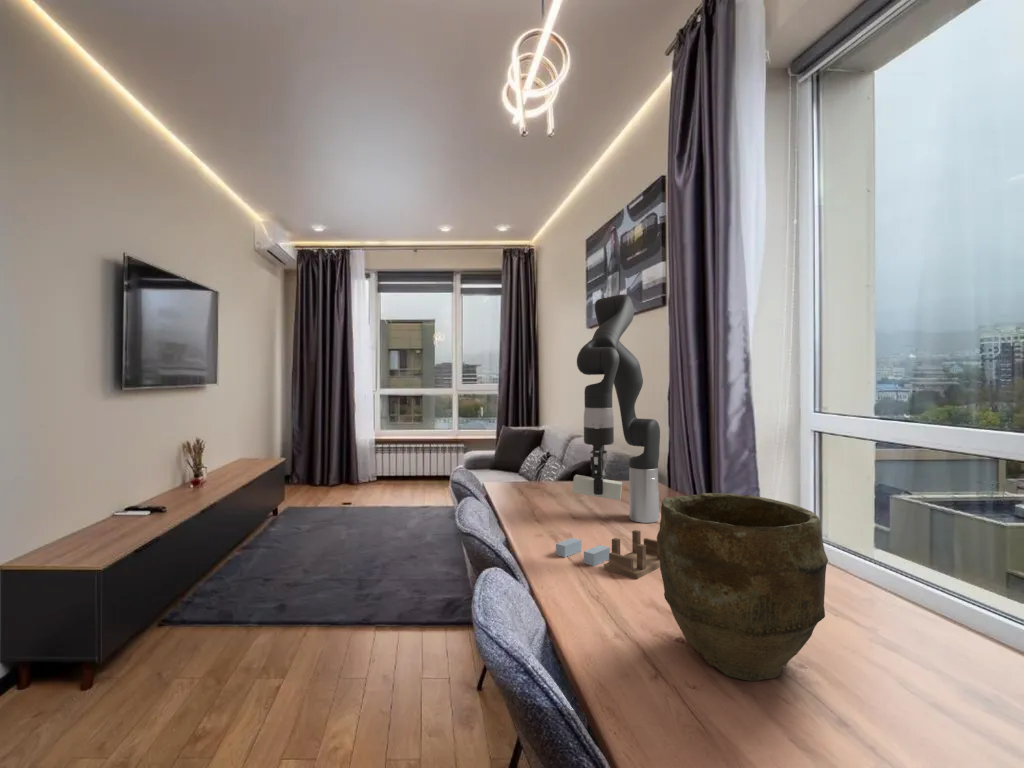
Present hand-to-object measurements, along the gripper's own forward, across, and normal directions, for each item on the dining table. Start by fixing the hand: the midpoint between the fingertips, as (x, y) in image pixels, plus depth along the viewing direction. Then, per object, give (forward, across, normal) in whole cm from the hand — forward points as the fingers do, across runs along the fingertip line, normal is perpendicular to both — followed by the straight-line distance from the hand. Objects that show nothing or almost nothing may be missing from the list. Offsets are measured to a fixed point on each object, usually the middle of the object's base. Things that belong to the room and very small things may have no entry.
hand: (599, 492), depth 131 cm
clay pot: (+17, +41, +27) cm, 52 cm away
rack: (+17, +2, +10) cm, 20 cm away
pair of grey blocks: (+17, -1, -4) cm, 18 cm away
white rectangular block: (+1, 0, -1) cm, 1 cm away
